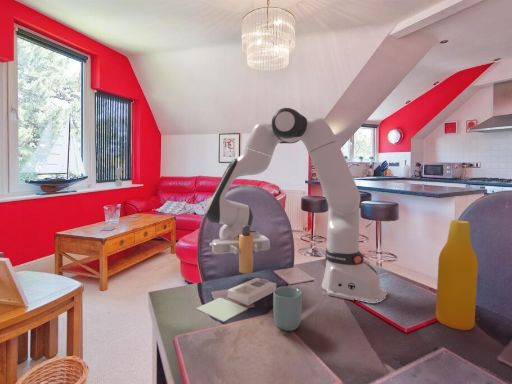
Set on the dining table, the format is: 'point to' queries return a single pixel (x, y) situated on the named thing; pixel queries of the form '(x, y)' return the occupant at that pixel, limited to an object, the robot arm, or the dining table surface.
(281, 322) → the cup
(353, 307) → the dining table surface
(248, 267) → the orange capped bottle
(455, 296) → the beer bottle
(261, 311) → the dining table surface
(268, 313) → the dining table surface
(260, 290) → the white bottle holder
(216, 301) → the mat
